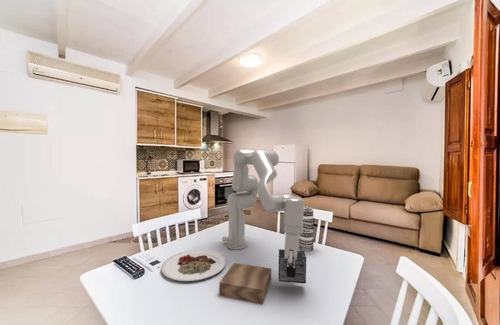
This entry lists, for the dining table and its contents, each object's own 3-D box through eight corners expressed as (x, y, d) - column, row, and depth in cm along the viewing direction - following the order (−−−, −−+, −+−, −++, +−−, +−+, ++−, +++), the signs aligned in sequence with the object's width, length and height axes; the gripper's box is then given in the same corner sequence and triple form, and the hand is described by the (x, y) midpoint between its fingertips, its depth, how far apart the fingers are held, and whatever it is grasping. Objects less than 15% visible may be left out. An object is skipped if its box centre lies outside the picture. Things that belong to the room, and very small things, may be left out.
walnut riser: (219, 295, 82) (219, 282, 82) (233, 273, 97) (234, 262, 97) (262, 303, 77) (263, 290, 77) (271, 279, 93) (271, 268, 93)
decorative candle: (306, 255, 116) (307, 209, 116) (294, 249, 124) (294, 206, 124) (317, 251, 121) (318, 207, 121) (305, 246, 129) (305, 204, 129)
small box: (303, 274, 90) (304, 250, 89) (306, 284, 83) (307, 257, 83) (278, 272, 91) (278, 248, 90) (278, 281, 84) (279, 255, 84)
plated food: (212, 289, 86) (212, 280, 86) (146, 279, 92) (146, 271, 92) (233, 255, 116) (233, 249, 116) (182, 250, 122) (182, 244, 122)
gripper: (286, 220, 95) (285, 260, 96) (280, 234, 79) (279, 282, 79) (303, 222, 93) (302, 262, 94) (301, 237, 77) (300, 286, 77)
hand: (291, 271), depth 87 cm, fingers closed on small box, 7 cm apart
